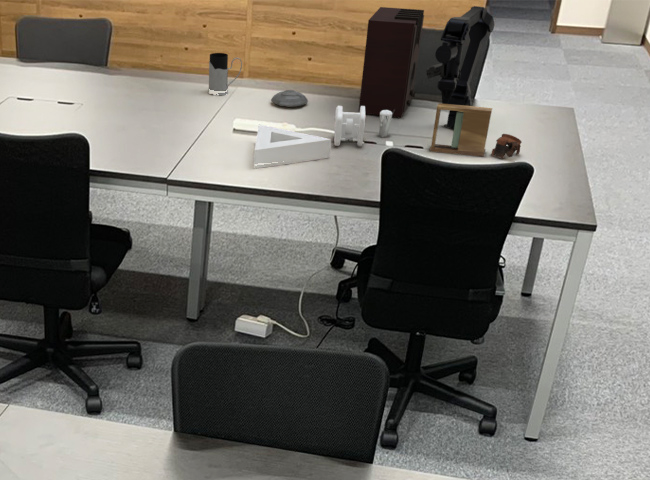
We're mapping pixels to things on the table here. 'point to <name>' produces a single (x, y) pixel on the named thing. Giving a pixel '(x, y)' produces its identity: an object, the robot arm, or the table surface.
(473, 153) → the door frame
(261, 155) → the triangle block
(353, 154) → the table surface
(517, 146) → the brown miniature stool
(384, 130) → the milkshake
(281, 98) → the flying saucer
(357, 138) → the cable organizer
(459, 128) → the door
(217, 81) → the glass holder
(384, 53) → the radio
